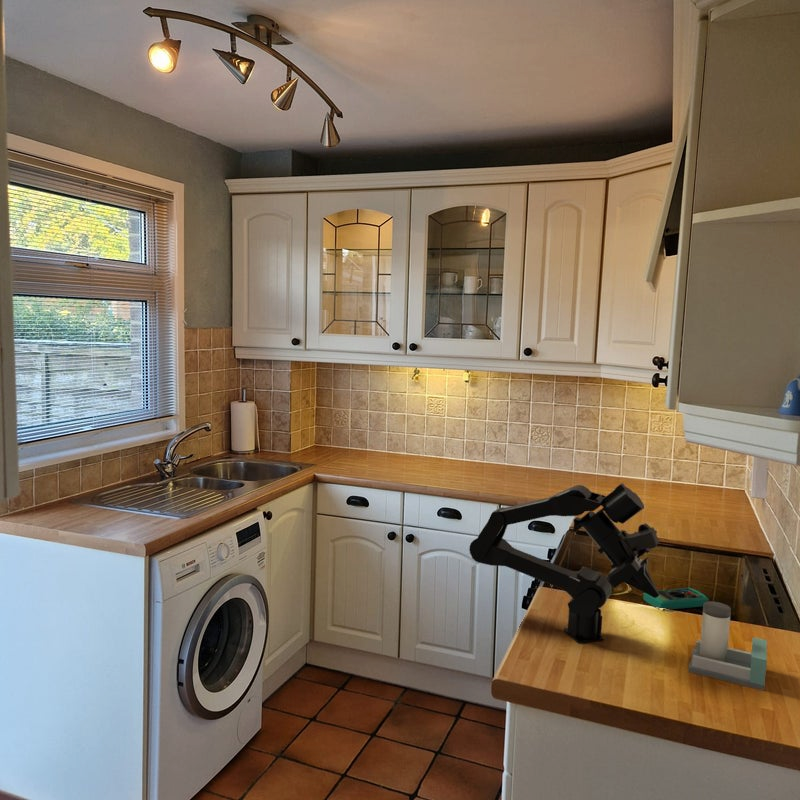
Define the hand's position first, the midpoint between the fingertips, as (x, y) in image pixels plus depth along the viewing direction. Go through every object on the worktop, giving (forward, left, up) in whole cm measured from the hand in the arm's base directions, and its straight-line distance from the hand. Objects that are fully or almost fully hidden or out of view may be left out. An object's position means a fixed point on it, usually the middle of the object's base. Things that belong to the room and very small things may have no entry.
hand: (657, 596), depth 141 cm
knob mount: (+10, -10, -12) cm, 19 cm away
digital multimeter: (+24, +22, -13) cm, 35 cm away
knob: (+8, -8, -11) cm, 16 cm away
